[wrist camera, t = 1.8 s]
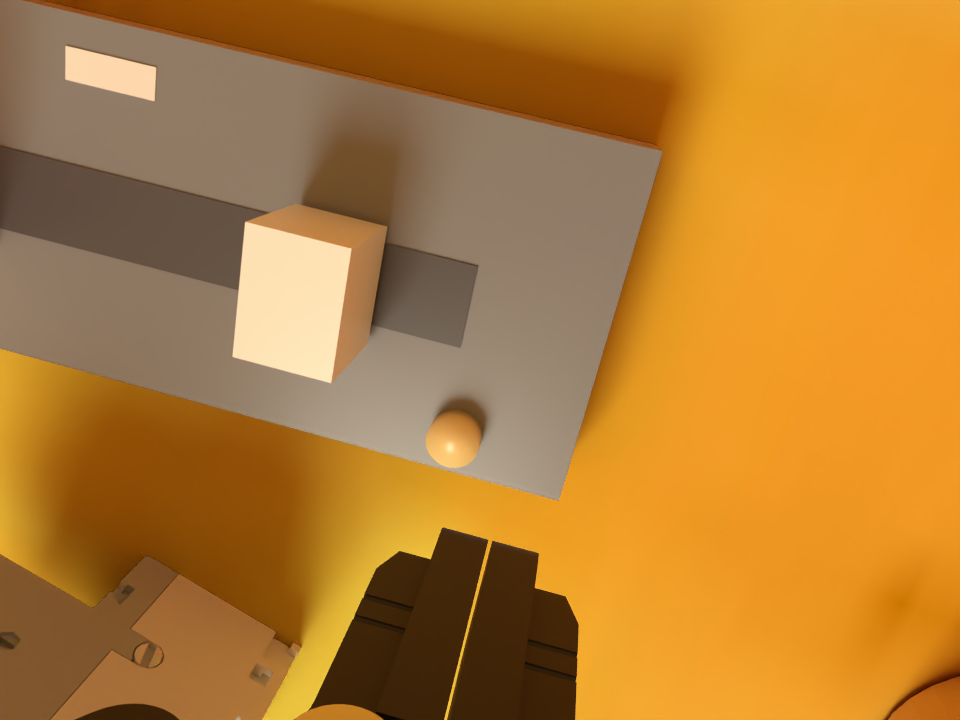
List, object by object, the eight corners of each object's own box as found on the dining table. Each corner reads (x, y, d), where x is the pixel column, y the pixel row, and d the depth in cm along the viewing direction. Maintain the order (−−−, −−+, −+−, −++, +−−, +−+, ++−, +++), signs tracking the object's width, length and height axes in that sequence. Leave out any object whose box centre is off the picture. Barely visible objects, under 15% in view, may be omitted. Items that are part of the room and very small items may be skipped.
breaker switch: (387, 226, 23) (351, 248, 19) (367, 344, 24) (331, 383, 21) (295, 203, 23) (245, 222, 20) (282, 321, 24) (232, 356, 21)
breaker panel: (655, 144, 24) (664, 153, 20) (562, 460, 28) (557, 513, 25) (-74, -27, 26) (-182, -47, 22) (-54, 294, 30) (-141, 321, 26)
